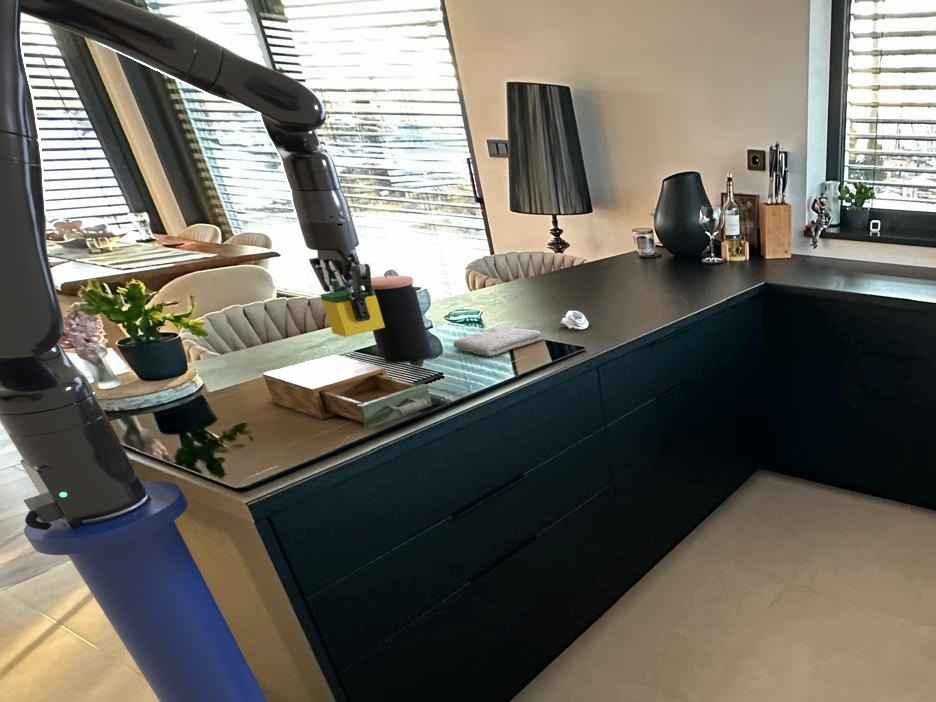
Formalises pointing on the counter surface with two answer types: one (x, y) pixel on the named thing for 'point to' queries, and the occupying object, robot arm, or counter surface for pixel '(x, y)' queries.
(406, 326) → the coffee jar
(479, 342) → the washcloth
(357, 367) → the cabinet
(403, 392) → the drawer
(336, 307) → the sponge
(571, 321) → the whipped cream
